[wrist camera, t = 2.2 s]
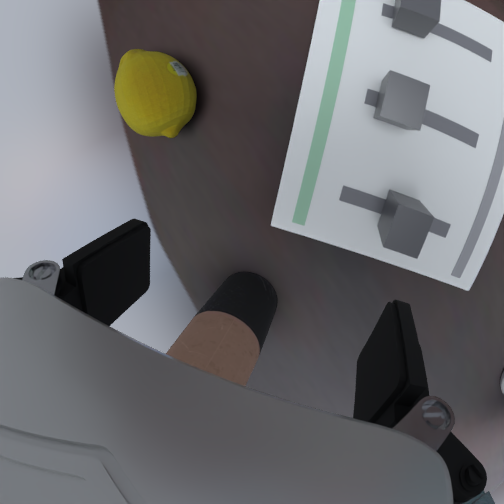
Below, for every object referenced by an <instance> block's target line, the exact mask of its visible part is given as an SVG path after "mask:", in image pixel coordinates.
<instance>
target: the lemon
mask: <svg viewBox="0 0 504 504" xmlns="http://www.w3.org/2000/svg"><path fill="white" fill-rule="evenodd" d="M114 89H115V98H116V102H117V106H118V108H119V111H120V113H121V115H122V117H123V118H124V120H125V121H126V123H127V124H128V125H129V126H130V128H132V129H133V130H134V131H136V132H137V133H139V134H141V135H144V136H162V135H164V136H166V137H169V138H174V137H176V136H177V135H178V133H179V132H180V130H181V129H182V127H183V126H184V125H185V124H186V123H188V122H189V121H190V119H191V118H192V116H193V114H194V111H195V106H196V97H197V94H196V87H195V85H194V82H193V79H192V77H191V75H190V74H189V72H188V71H187V69H186V68H185V67H184V66H183V65H182V64H181V63H180V62H179V61H178V60H176V59H174V58H173V57H171V56H169V55H167V54H164V53H161V52H151V51H145V50H142V49H134V50H130V51H128V52H127V53H126V54H125V55H124V56H123V57H122V59H121V61H120V65H119V69H118V72H117V75H116V79H115V88H114Z"/></svg>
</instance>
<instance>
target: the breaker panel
mask: <svg viewBox="0 0 504 504" xmlns="http://www.w3.org/2000/svg"><path fill="white" fill-rule="evenodd" d="M394 6H395V0H320V2H319V7H318V12H317V17H316V22H315V26H314V31H313V36H312V41H311V46H310V50H309V55H308V60H307V64H306V69H305V74H304V78H303V83H302V88H301V92H300V97H299V102H298V106H297V111H296V115H295V120H294V124H293V129H292V133H291V138H290V142H289V147H288V151H287V156H286V160H285V165H284V169H283V173H282V178H281V182H280V187H279V191H278V195H277V200H276V204H275V208H274V213H273V217H272V221H271V226H273V227H277V228H280V229H283V230H287V231H290V232H293V233H296V234H300V235H303V236H306V237H309V238H313V239H316V240H319V241H322V242H325V243H329V244H332V245H335V246H338V247H341V248H344V249H347V250H350V251H354V252H357V253H360V254H363V255H366V256H369V257H372V258H375V259H378V260H381V261H384V262H387V263H390V264H393V265H396V266H399V267H402V268H405V269H408V270H410V271H413V272H416V273H419V274H422V275H425V276H428V277H431V278H434V279H436V280H439V281H442V282H445V283H448V284H450V285H453V286H456V287H459V288H462V289H464V290H467V291H469V289H470V288H471V286H472V284H473V282H474V280H475V278H476V276H477V274H478V272H479V270H480V268H481V266H482V264H483V262H484V259H485V257H486V255H487V253H488V251H489V248H490V246H491V244H492V242H493V239H494V237H495V234H496V232H497V229H498V227H499V224H500V222H501V219H502V216H503V214H504V22H502V21H501V20H499V19H497V18H496V17H494V16H492V15H490V14H489V13H487V12H485V11H483V10H482V9H480V8H478V7H476V6H474V5H472V4H470V3H468V2H466V1H464V0H441V11H440V22H439V23H438V24H437V25H436V26H435V27H434V28H433V29H432V30H431V31H430V33H429V34H428V35H427V36H426V37H425V38H422V37H419V36H417V35H414V34H411V33H408V32H406V31H403V30H400V29H397V28H394V27H392V20H393V13H394ZM390 70H391V71H394V72H397V73H400V74H403V75H405V76H408V77H411V78H413V79H416V80H419V81H421V82H424V83H426V84H428V85H430V89H429V94H428V99H427V104H426V108H425V113H424V117H423V122H422V126H421V130H420V131H417V130H406V129H403V128H400V127H398V126H395V125H392V124H389V123H386V122H383V121H380V120H377V119H374V118H373V117H374V113H375V109H376V104H377V100H378V95H379V91H380V86H381V81H382V80H383V78H384V77H385V76H386V74H387V73H388V72H389V71H390ZM389 189H390V190H393V191H396V192H398V193H401V194H404V195H406V196H409V197H412V198H414V199H417V200H420V202H421V203H422V204H423V205H424V206H425V207H426V208H427V209H428V211H429V212H430V213H431V214H432V215H433V216H434V219H433V222H432V225H431V227H430V230H429V232H428V235H427V237H426V240H425V242H424V244H423V247H422V249H421V252H420V254H419V256H418V259H416V258H413V257H410V256H407V255H404V254H401V253H399V252H396V251H393V250H390V249H387V248H384V247H383V246H382V242H381V238H380V234H379V230H378V227H377V225H378V222H379V219H380V216H381V213H382V210H383V207H384V204H385V201H386V198H387V195H388V192H389Z"/></svg>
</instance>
